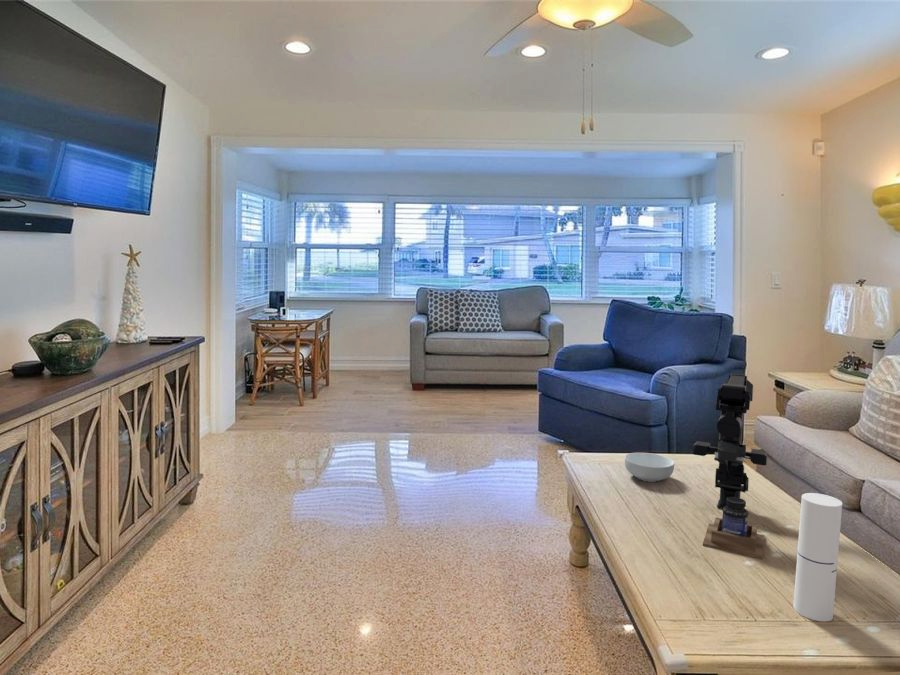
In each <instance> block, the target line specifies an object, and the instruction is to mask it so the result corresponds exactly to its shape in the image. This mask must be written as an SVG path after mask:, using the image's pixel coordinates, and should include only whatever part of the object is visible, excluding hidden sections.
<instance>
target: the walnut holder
mask: <svg viewBox="0 0 900 675" xmlns="http://www.w3.org/2000/svg"><path fill="white" fill-rule="evenodd" d="M714 518H715V519H714V522H713V523H712V524H711V523H708V526H707V529H706V532H705V535H704V539H703V541H702V546H705V547H709V548H712V549H717V550H722V551H725V552H731V553H736V554H739V555H744V556H749V557H750V558H751V557H752V558H757V559H762V560H763V558H764V545H765V535H764V534H760V533H758V526H757V525H755V524H751V523H748V524H747V537H743V536H739V535H734V534H729V533H725V532H722V518H720V517H714Z"/></svg>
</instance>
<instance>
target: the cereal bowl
mask: <svg viewBox="0 0 900 675" xmlns="http://www.w3.org/2000/svg"><path fill="white" fill-rule="evenodd" d="M624 466H625V468H626V470H627V472H628V473H630V474H631V475H632V476H634V477H636V478H637V479H638V480H640V479H641V481H642V480H643V482H646V481H648V483H656V481H657V482H659V481H662V480H666V479H668V478H670V477H671V475H673V473H674V470H675V461H674V460H673V459H672V458H670V457H667V456H664V455H662V454H658V453H650V452H630V453H628V454H626V455H625V456H624Z"/></svg>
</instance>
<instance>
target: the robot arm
mask: <svg viewBox="0 0 900 675" xmlns="http://www.w3.org/2000/svg"><path fill="white" fill-rule="evenodd" d="M753 396H754V385H753V383H752V382H750V381H749V380H748V376H747V375H745V374H740V373H731V374H729V375H728V379H726V380H725V381H724V382H723V383H722V384H721V385H720V388H719V387H718V389H717V396H716V397H717V398H716V404H715V411H719V412H720V417H719V418H718V421H717V423H716V429H717V431H718V433H719V436H718V442H717V447H716V446H711V442H707V441H700V440H697V441H696V442H695V443H694V444H693V446H692V455H695V456H701V457H705V456H706V455H707V456H708V454H714V457H713V458H714V461H715V462H718V467H717V468H716V469H715V476H714V478H715V481H714V484H715V485H714V488H717V489H720V490H719V499H718V501H717V504H716V508H717V509H721V510H723V508H724V507H725V506H727V503H726V499H727V498H728V497H737V498H741V493H746V492H749V484H750V483H749V480H750V479H749V477H748V475H747V472H745V465H744V461H745V460H744V459H748V460H750V462H751V463H752V464H753V465H758V466H759V465H760V466H767V462H768V452H767V451H766V450H763V449H755V448H751V451H747V445H746V444H742V442H743V441H742V436H743V425H744V424H743V423H744V414H747V411H750V404H751V402H753V398H754V397H753Z"/></svg>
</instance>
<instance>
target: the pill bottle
mask: <svg viewBox="0 0 900 675" xmlns="http://www.w3.org/2000/svg"><path fill="white" fill-rule="evenodd" d="M726 503H727V506H725V507H724V508H723V509H722V518H721V519H722V532H725V533H729V534H734V535H739V536H743V537H747V524H749V523H748V522H749V521H748V520H749V519H748V517H749V512H748V510H747V509H746V506H747V504H746V500H745V499H743V498H741V497H740V498H737V497H728V498H727V499H726Z"/></svg>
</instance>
